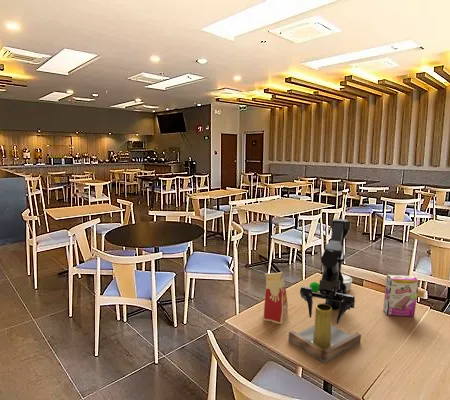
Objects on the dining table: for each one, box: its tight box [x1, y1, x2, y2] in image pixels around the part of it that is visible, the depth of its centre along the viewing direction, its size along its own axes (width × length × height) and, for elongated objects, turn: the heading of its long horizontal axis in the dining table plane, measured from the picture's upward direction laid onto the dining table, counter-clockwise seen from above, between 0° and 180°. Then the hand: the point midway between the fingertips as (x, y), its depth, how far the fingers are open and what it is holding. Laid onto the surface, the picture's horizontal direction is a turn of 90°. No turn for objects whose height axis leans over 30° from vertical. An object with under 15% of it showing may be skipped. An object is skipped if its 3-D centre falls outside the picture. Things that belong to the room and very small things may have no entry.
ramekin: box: [341, 273, 353, 292], centre depth 165 cm, size 11×11×5 cm
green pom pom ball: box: [309, 281, 320, 292], centre depth 160 cm, size 5×5×5 cm
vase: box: [313, 302, 333, 350], centre depth 116 cm, size 6×6×14 cm
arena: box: [288, 324, 362, 364], centre depth 121 cm, size 16×20×4 cm
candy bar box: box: [382, 274, 420, 318], centre depth 139 cm, size 11×5×16 cm, turn 84°
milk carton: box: [262, 271, 289, 325], centre depth 136 cm, size 9×9×20 cm
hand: (323, 320), depth 116 cm, fingers open, 9 cm apart
